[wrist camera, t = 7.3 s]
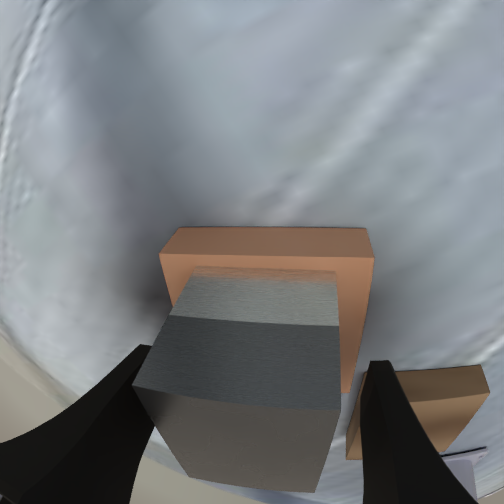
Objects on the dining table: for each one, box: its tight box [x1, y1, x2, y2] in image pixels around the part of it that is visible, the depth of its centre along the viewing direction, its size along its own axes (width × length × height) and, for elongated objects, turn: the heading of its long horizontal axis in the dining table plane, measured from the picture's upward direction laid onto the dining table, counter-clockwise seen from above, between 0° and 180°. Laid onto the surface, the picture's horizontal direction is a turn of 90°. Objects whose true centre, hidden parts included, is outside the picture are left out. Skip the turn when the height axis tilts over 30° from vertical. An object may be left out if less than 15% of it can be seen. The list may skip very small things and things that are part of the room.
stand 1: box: [159, 227, 375, 393], centre depth 13 cm, size 7×7×2 cm
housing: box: [132, 266, 341, 493], centre depth 10 cm, size 6×4×5 cm
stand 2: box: [346, 365, 490, 460], centre depth 15 cm, size 7×7×2 cm
